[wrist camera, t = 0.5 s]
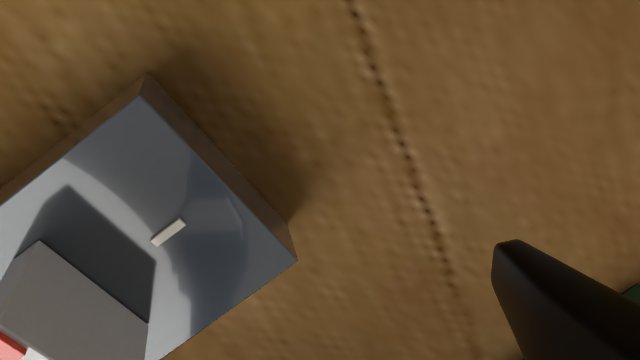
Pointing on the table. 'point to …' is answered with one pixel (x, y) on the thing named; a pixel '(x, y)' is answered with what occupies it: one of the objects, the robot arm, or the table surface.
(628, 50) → the table surface
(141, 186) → the tap panel
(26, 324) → the tap knob
